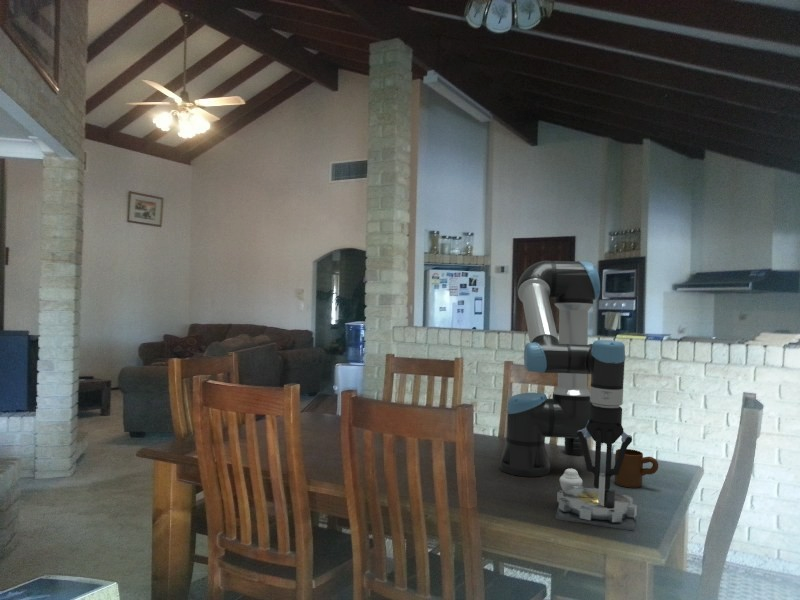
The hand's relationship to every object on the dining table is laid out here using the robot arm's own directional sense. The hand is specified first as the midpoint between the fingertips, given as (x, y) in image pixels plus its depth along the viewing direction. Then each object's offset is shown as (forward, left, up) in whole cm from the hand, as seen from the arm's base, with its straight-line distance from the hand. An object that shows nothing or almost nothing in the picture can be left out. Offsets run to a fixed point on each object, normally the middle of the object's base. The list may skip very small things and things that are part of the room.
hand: (601, 501), depth 149 cm
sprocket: (-1, +5, -4) cm, 7 cm away
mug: (+9, +32, -5) cm, 34 cm away
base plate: (-1, +5, -5) cm, 7 cm away
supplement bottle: (-10, +61, -5) cm, 62 cm away
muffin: (-8, +17, -5) cm, 20 cm away
